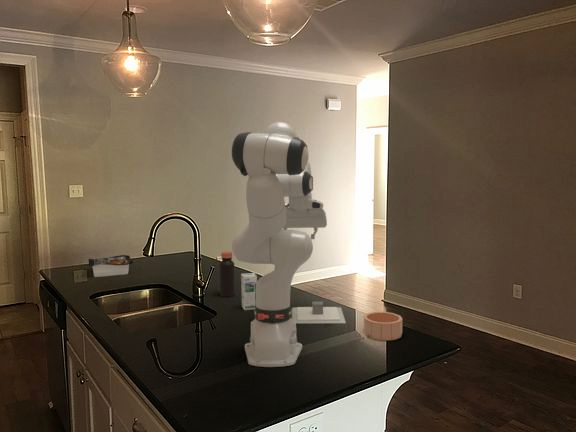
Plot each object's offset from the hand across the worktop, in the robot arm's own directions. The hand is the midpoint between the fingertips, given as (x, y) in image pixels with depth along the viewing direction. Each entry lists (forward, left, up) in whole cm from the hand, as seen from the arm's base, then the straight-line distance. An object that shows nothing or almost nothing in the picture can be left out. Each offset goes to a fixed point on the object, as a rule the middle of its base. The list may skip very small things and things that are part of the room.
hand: (300, 239), depth 187 cm
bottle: (+33, +33, -31) cm, 57 cm away
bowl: (-19, -29, -31) cm, 46 cm away
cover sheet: (0, -7, -30) cm, 31 cm away
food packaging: (+83, +106, -32) cm, 139 cm away
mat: (0, -7, -31) cm, 32 cm away
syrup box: (+13, +21, -31) cm, 40 cm away
